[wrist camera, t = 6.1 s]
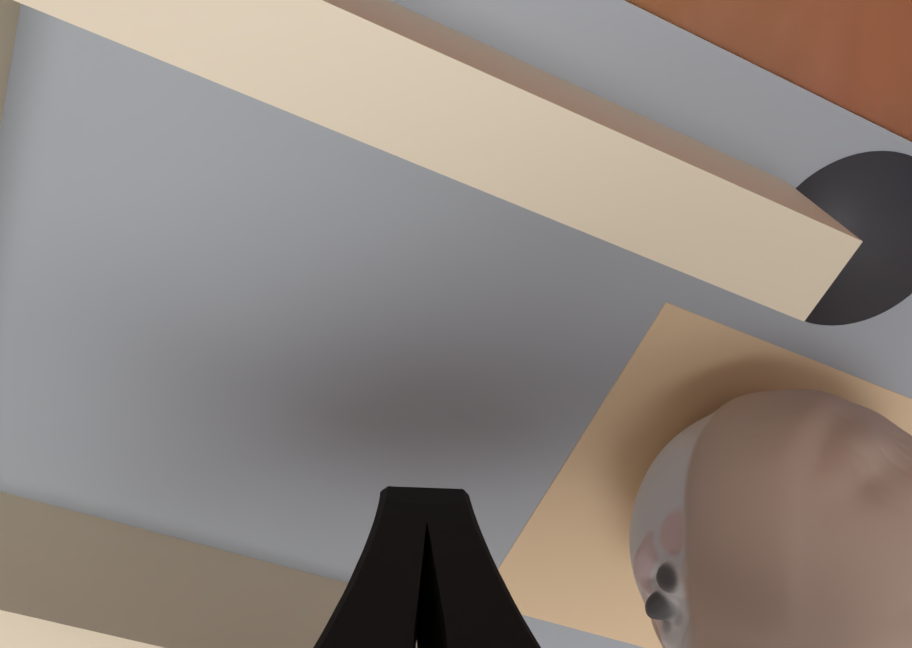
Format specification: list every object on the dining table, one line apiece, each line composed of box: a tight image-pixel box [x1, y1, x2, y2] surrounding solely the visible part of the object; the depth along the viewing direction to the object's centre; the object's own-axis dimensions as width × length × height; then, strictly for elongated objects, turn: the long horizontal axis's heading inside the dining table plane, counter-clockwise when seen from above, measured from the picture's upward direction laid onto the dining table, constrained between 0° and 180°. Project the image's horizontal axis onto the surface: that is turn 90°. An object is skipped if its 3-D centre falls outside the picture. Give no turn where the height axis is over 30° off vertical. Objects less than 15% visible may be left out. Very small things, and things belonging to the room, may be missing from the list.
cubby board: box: [0, 0, 912, 648], centre depth 15 cm, size 22×17×3 cm
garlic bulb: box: [629, 389, 912, 648], centre depth 14 cm, size 7×6×8 cm
